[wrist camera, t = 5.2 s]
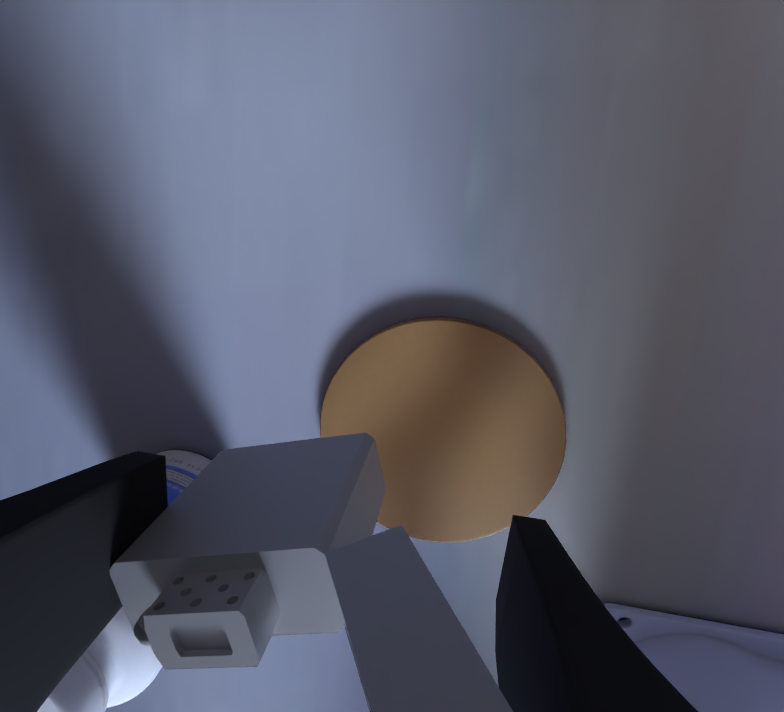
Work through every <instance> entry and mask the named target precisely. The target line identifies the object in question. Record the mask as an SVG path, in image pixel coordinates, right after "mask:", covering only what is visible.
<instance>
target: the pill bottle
mask: <svg viewBox="0 0 784 712" xmlns="http://www.w3.org/2000/svg"><path fill="white" fill-rule="evenodd" d="M156 454H158V455H164V456H165V457H166V478H167V499H168V506H169V505H170V504H171V503H172V502H173V501H174V500H175V499H176V498H177V497H178V496H179V495H180V494H181V492H182V491H183V490H184V489H185V488H186V487H187V486H188V485H189V484H190V483H191V482H192V481H193V480H194V479H195V478H196V477H197V476H198V475H199V474H200V473H201V472H202V471H203V470H204V468H205V467H206V466H207V465H208V464H209V463H210V462H211V460H209V459H208V458H206V457H203V456H201V455H199V454H195V453H192V452H187V451H180V450H170V451H163V452H159V453H156ZM161 668H162V665H161V663H160V662H159V661H158V659H157V658H156V656H155V654H154V652H153V650H152V648H151V646H146V645H143V644H141V643H140V642H139V641H138V640H137V638H136V637H135V636H134V632H133V630H132V627H131V625H130V622H129V620H128V617H127V615H126V613H125V610H124V608H123V606H122V607H121V609H120V610H119V611H118V612H117V613H116V615H115V616H114V617H113V618H112V620H111V621H110V622H109V623H108V624H107V626H106V627H105V628H104V629H103V630H102V632H101V633H100V634H99V635H98V636H97V638H96V639H95V640H94V641H93V642H92V644H91V645H90V646H89V647H88V648H87V650H86V651H85V652H84V653H83V654H82V656H81V657H80V658H79V659H78V661H77V662H76V663H75V664H74V665H73V667H72V668H71V669H70V670H69V671H68V673H67V674H66V675H65V676H64V677H63V679H62V680H61V681H60V682H59V684H58V685H57V686H56V687H55V689H54V690H53V691H52V693H51V694H50V695H49V697H48V698H47V699H46V700H45V702H44V703H43V704H42V706H41V707H40V709H39V710H38V711H37V712H105V710H106V708H108V707H112V706H116V705H119V704H122V703H124V702H127V701H129V700H131V699H132V698H134V697H136V696H137V695H138V694H140V693H141V692H142V691H143V690H144V689H145V688H146V687H148V686H149V684H150V683H151V682H152V681H153V680H154V678H155V677H156V676H157V674H158V672H159V671H160V669H161Z"/></svg>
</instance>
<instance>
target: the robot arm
mask: <svg viewBox="0 0 784 712" xmlns="http://www.w3.org/2000/svg"><path fill="white" fill-rule="evenodd" d="M167 507H168V499H167V478H166V457H165V456H164V455H158V454H152V453H146V452H140V451H137V452H134V453H130V454H126V455H123V456H120V457H117V458H114V459H111V460H109V461H106V462H103V463H100V464H98V465H95V466H92V467H90V468H87V469H84V470H82V471H79V472H77V473H74V474H71V475H69V476H66V477H63V478H61V479H58V480H55V481H53V482H50V483H48V484H45V485H42V486H40V487H37V488H34V489H32V490H29V491H26V492H23V493H20V494H18V495H15V496H12V497H9V498H6V499H3V500H0V712H37V711H38V710H39V709H40V707H41V706H42V704H43V703H44V702H45V700H46V699H47V698H48V697H49V695H50V694H51V693H52V691H53V690H54V689H55V687H56V686H57V685H58V684H59V682H60V681H61V680H62V679H63V677H64V676H65V675H66V674H67V673H68V671H69V670H70V669H71V668H72V667H73V665H74V664H75V663H76V662H77V661H78V659H79V658H80V657H81V656H82V654H83V653H84V652H85V651H86V650H87V648H88V647H89V646H90V645H91V644H92V642H93V641H94V640H95V639H96V638H97V636H98V635H99V634H100V633H101V632H102V630H103V629H104V628H105V627H106V626H107V624H108V623H109V622H110V621H111V620H112V618H113V617H114V616H115V615H116V613H117V612H118V611H119V610H120V609H121V607H122V606H123V605H122V603H121V601H120V598H119V596H118V593H117V591H116V588H115V586H114V584H113V581H112V579H111V576H110V569H111V567H112V565H113V564H114V562H115V561H116V560H117V559H118V558H119V557H120V556H121V555H122V554H123V553H124V552H125V551H126V550H127V549H128V548H129V547H130V546H131V545H132V544H133V543H134V541H135V540H136V539H137V538H138V537H139V536H140V535H141V534H142V533H143V532H144V531H145V530H146V529H147V528H148V527H149V526H150V525H151V524H152V523H153V522H154V521H155V520H156V519H157V517H158V516H159V515H160V514H161V513H162V512H163V511H164V510H165V509H166V508H167ZM622 617H627V619H625V620H619V619H620V618H622ZM495 652H496V663H497V674H498V684H499V689H500V691H501V692H502V694H503V696H504V697H505V699H506V701H507V702H508V704H509V706H510V707H511V709H512V711H513V712H784V634H779V633H773V632H768V631H762V630H757V629H751V628H745V627H740V626H734V625H729V624H723V623H718V622H712V621H707V620H701V619H696V618H690V617H684V616H679V615H673V614H668V613H662V612H657V611H651V610H646V609H640V608H635V607H629V606H624V605H618V604H612V603H606V604H603V603H602V602H601V600H600V599H599V598H598V596H597V595H596V594H595V592H594V591H593V589H592V588H591V587H590V585H589V584H588V583H587V581H586V580H585V578H584V577H583V576H582V574H581V573H580V571H579V570H578V568H577V567H576V565H575V564H574V562H573V561H572V559H571V558H570V557H569V555H568V554H567V552H566V551H565V549H564V547H563V546H562V544H561V543H560V541H559V540H558V538H557V537H556V535H555V534H554V532H553V531H552V529H551V528H550V526H549V525H548V523H547V522H546V521H545V520H542V519H536V518H530V517H524V516H518V515H513V516H512V521H511V526H510V532H509V537H508V542H507V547H506V552H505V557H504V562H503V567H502V572H501V577H500V582H499V588H498V593H497V598H496V645H495Z"/></svg>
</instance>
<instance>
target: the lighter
mask: <svg viewBox="0 0 784 712" xmlns="http://www.w3.org/2000/svg"><path fill="white" fill-rule="evenodd" d="M385 492H386V486H385V481H384V477H383V473H382V468H381V464H380V460H379V455H378V451H377V447H376V443H375V438H373V437H372V436H370V435H369V434H368V433H358V434H349V435H341V436H333V437H325V438H316V439H308V440H300V441H292V442H284V443H275V444H267V445H259V446H251V447H243V448H234V449H226V450H222V451H221V452H220V453H219V454H218V455H217V456H216V457H215V458H214V459H213V460H212V461H211V462H210V463H209V464H208V465H207V466H206V467H205V468H204V470H203V471H202V472H201V473H200V474H199V475H198V476H197V477H196V478H195V479H194V480H193V481H192V482H191V483H190V484H189V485H188V486H187V487H186V488H185V489H184V490H183V491H182V492H181V494H180V495H179V496H178V497H177V498H176V499H175V500H174V501H173V502H172V503H171V504H170V505H169V506H168V507H167V508H166V509H165V510H164V511H163V512H162V513H161V514H160V515H159V516H158V517H157V519H156V520H155V521H154V522H153V523H152V524H151V525H150V526H149V527H148V528H147V529H146V530H145V531H144V532H143V533H142V534H141V535H140V536H139V537H138V538H137V539H136V540H135V541H134V543H133V544H132V545H131V546H130V547H129V548H128V549H127V550H126V551H125V552H124V553H123V554H122V555H121V556H120V557H119V558H118V559H117V560H116V561H115V562H114V564H113V565H112V567H111V569H110V576H111V579H112V581H113V584H114V586H115V588H116V591H117V593H118V596H119V598H120V601H121V603H122V605H123V608H124V610H125V613H126V615H127V617H128V620H129V622H130V625H131V627H132V630H133V632H134V636H135V637H136V638H137V640H138V641H139V642H140V643H141V644H143V645H146V646H151V648H152V650H153V652H154V654H155V656H156V658H157V659H158V661H159V662H160V663H161V665H162V666H163V667H164V669H195V668H229V667H257V666H258V664H259V662H260V660H261V657H262V655H263V653H264V651H265V649H266V646H267V644H268V642H269V640H270V638H271V636H273V635H296V634H320V633H338V632H339V631H340V630H341V629H342V628H343V626H344V625H345V629H346V632H347V636H348V639H349V643H350V646H351V649H352V653H353V656H354V660H355V663H356V666H357V670H358V673H359V676H360V680H361V683H362V686H363V690H364V693H365V697H366V700H367V703H368V707H369V710H370V712H513V711H512V709H511V707H510V706H509V704H508V702H507V701H506V699H505V697H504V696H503V694H502V692H501V691H500V689H499V687H498V686H497V684H496V682H495V681H494V679H493V677H492V676H491V674H490V672H489V671H488V669H487V667H486V665H485V664H484V662H483V660H482V659H481V657H480V655H479V654H478V652H477V650H476V649H475V647H474V645H473V644H472V642H471V640H470V639H469V637H468V635H467V634H466V632H465V630H464V629H463V627H462V625H461V624H460V622H459V620H458V619H457V617H456V615H455V614H454V612H453V610H452V609H451V607H450V605H449V604H448V602H447V600H446V599H445V597H444V595H443V593H442V592H441V590H440V588H439V587H438V585H437V583H436V582H435V580H434V578H433V577H432V575H431V573H430V572H429V570H428V568H427V567H426V565H425V563H424V562H423V560H422V558H421V557H420V555H419V553H418V552H417V550H416V548H415V547H414V545H413V543H412V542H411V540H410V538H409V537H408V535H407V533H406V532H405V530H404V528H403V527H402V525H401V526H398V527H395V528H393V529H390V530H387V531H384V532H381V533H379V534H376V535H373V531H374V528H375V525H376V521H377V518H378V515H379V511H380V508H381V505H382V501H383V498H384V495H385ZM372 535H373V536H372Z"/></svg>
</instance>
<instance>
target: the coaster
mask: <svg viewBox="0 0 784 712" xmlns="http://www.w3.org/2000/svg"><path fill="white" fill-rule="evenodd" d="M358 433H368V434H369V435H370V436H372V437H373V438H375V443H376V447H377V451H378V455H379V460H380V464H381V468H382V473H383V477H384V481H385V486H386V492H385V495H384V498H383V501H382V505H381V508H380V511H379V515H378V518H377V522H378V523H380V524H382V525H383V526H385V527H387V528H389V529H393V528H395V527H398V526H401V525H402V527H403V528H404V530H405V532H406V533H407V535H408V536H410V537H414V538H418V539H422V540H428V541H437V542H461V541H470V540H475V539H479V538H484V537H487V536H490V535H493V534H496V533H498V532H501V531H503V530H505V529H507V528H509V527H510V526H511V521H512V516H513V515H518V516H524V517H526V516H527V515H528V514H529V513H531V512H532V511H533V510H534V509H535V508H536V507H537V506H538V505H539V504H540V503H541V501H542V500H543V499H544V498H545V497H546V495H547V494H548V492H549V491H550V489H551V488H552V486H553V485H554V483H555V481H556V478H557V476H558V474H559V472H560V469H561V466H562V463H563V459H564V455H565V448H566V423H565V417H564V411H563V408H562V405H561V402H560V399H559V396H558V393H557V391H556V389H555V387H554V385H553V383H552V381H551V379H550V378H549V376H548V375H547V373H546V372H545V370H544V369H543V367H542V366H541V365H540V364H539V363H538V361H537V360H536V359H535V358H534V357H533V356H532V355H531V354H530V353H529V352H528V351H527V350H526V349H524V348H523V347H522V346H521V345H520V344H519V343H517V342H515V341H514V340H512V339H511V338H509V337H508V336H506V335H505V334H503V333H501V332H499V331H496V330H494V329H492V328H490V327H488V326H485V325H482V324H479V323H476V322H473V321H468V320H462V319H457V318H445V317H432V318H420V319H415V320H409V321H405V322H402V323H399V324H396V325H393V326H390V327H388V328H386V329H384V330H382V331H380V332H377V333H375V334H374V335H372V336H371V337H369V338H368V339H366V340H365V341H363V342H362V343H361V344H360V345H359V346H358V347H356V348H355V349H354V350H353V351H352V352H351V353H350V354H349V355H348V357H347V358H346V359H345V360H344V361H343V362H342V364H341V365H340V366H339V368H338V370H337V371H336V373H335V374H334V376H333V378H332V379H331V382H330V384H329V386H328V388H327V391H326V393H325V397H324V401H323V404H322V410H321V418H320V434H321V438H325V437H333V436H341V435H349V434H358Z"/></svg>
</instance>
